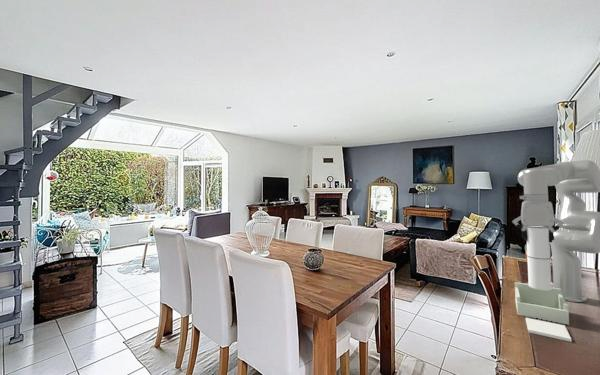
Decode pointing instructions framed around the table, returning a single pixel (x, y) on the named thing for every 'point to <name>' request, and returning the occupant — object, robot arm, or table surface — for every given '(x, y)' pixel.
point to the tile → (548, 329)
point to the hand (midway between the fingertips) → (537, 240)
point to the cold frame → (541, 303)
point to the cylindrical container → (538, 257)
